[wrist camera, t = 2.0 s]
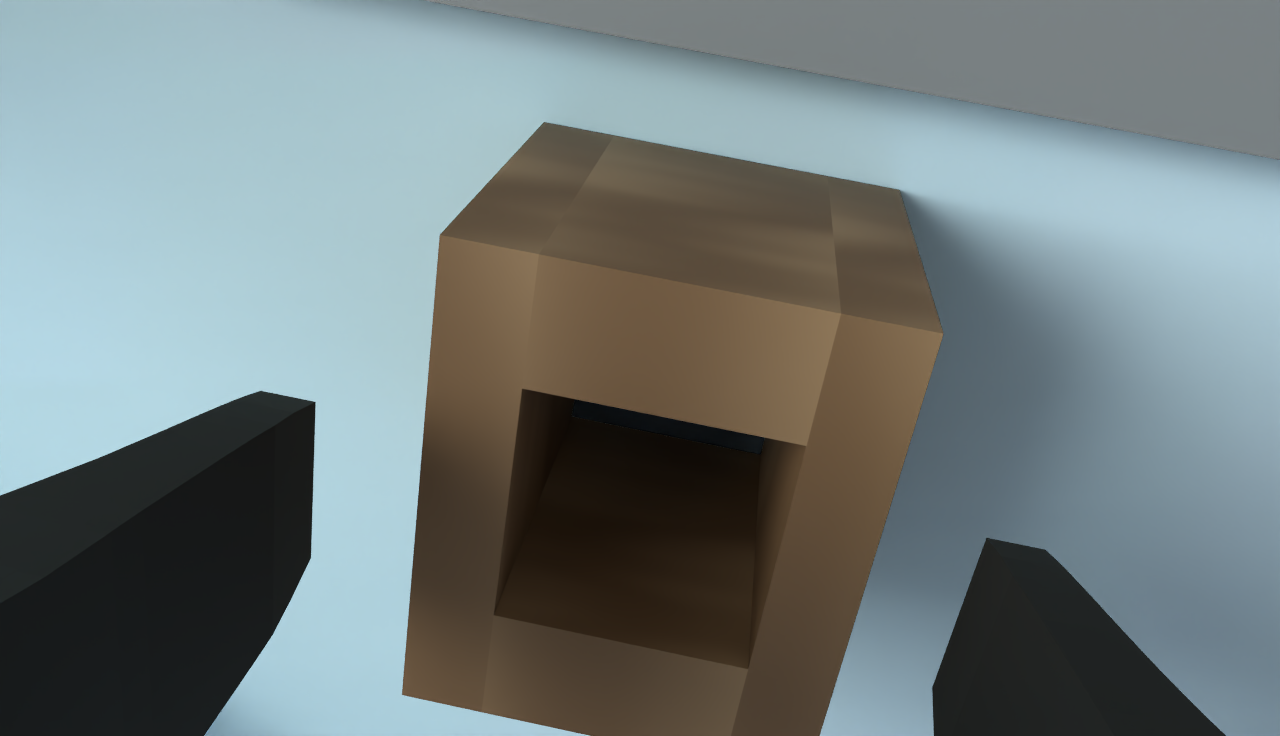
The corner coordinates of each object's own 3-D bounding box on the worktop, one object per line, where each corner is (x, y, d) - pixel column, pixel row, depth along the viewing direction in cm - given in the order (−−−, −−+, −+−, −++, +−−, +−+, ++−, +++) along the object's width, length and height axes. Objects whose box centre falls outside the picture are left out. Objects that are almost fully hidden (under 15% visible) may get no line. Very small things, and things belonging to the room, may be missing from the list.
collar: (899, 190, 15) (943, 333, 11) (802, 546, 18) (805, 781, 13) (543, 122, 15) (440, 235, 11) (500, 483, 18) (402, 695, 13)
